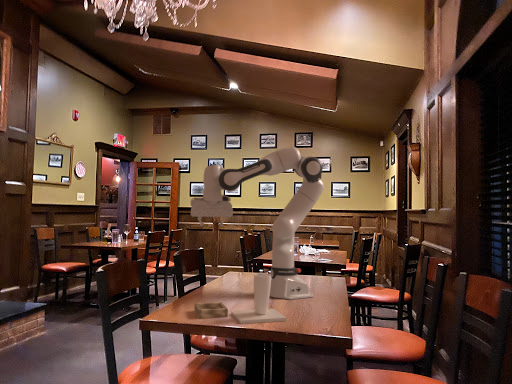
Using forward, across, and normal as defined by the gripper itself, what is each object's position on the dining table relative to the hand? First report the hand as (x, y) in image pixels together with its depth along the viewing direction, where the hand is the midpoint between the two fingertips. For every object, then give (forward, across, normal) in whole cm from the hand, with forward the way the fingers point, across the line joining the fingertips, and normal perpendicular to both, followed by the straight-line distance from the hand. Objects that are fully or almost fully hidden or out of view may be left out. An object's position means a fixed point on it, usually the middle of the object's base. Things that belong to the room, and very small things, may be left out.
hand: (211, 226), depth 181 cm
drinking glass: (+33, +13, -38) cm, 52 cm away
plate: (+34, +12, -38) cm, 53 cm away
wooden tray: (+34, -5, -30) cm, 45 cm away
